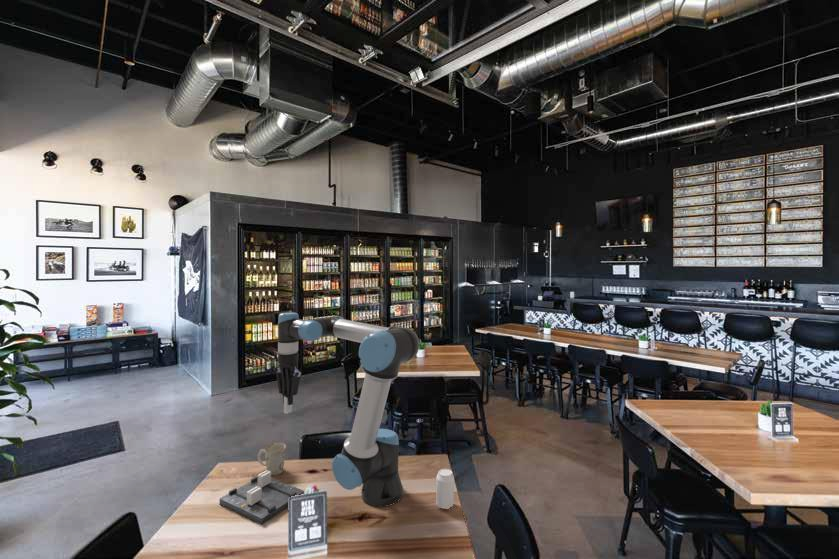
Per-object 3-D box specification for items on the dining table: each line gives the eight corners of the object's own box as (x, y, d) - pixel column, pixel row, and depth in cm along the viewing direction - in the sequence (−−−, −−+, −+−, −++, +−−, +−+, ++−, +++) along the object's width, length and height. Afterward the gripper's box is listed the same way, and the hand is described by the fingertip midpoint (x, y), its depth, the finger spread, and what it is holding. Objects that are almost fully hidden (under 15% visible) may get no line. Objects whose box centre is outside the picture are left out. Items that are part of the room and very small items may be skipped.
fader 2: (271, 482, 141) (271, 471, 141) (261, 487, 138) (262, 476, 138) (266, 480, 143) (266, 469, 143) (257, 485, 139) (257, 474, 139)
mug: (278, 478, 149) (278, 452, 148) (250, 474, 151) (250, 449, 151) (290, 467, 157) (290, 443, 157) (263, 464, 159) (263, 440, 159)
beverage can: (457, 506, 132) (457, 472, 132) (446, 514, 127) (446, 478, 127) (443, 498, 136) (444, 465, 136) (432, 506, 131) (432, 472, 131)
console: (304, 496, 137) (304, 488, 137) (261, 524, 121) (262, 515, 121) (263, 479, 147) (263, 472, 147) (219, 504, 131) (219, 495, 131)
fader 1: (261, 499, 131) (261, 487, 131) (251, 505, 127) (251, 493, 127) (256, 497, 132) (256, 485, 132) (246, 503, 128) (246, 491, 128)
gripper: (307, 352, 147) (307, 412, 148) (284, 349, 154) (283, 406, 154) (292, 356, 141) (292, 418, 141) (268, 352, 147) (268, 412, 147)
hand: (288, 412), depth 147 cm, fingers closed
